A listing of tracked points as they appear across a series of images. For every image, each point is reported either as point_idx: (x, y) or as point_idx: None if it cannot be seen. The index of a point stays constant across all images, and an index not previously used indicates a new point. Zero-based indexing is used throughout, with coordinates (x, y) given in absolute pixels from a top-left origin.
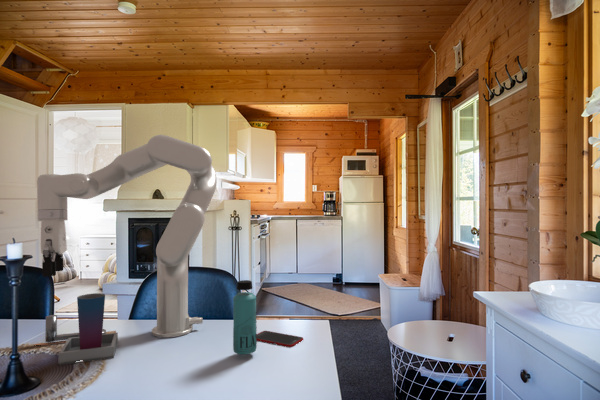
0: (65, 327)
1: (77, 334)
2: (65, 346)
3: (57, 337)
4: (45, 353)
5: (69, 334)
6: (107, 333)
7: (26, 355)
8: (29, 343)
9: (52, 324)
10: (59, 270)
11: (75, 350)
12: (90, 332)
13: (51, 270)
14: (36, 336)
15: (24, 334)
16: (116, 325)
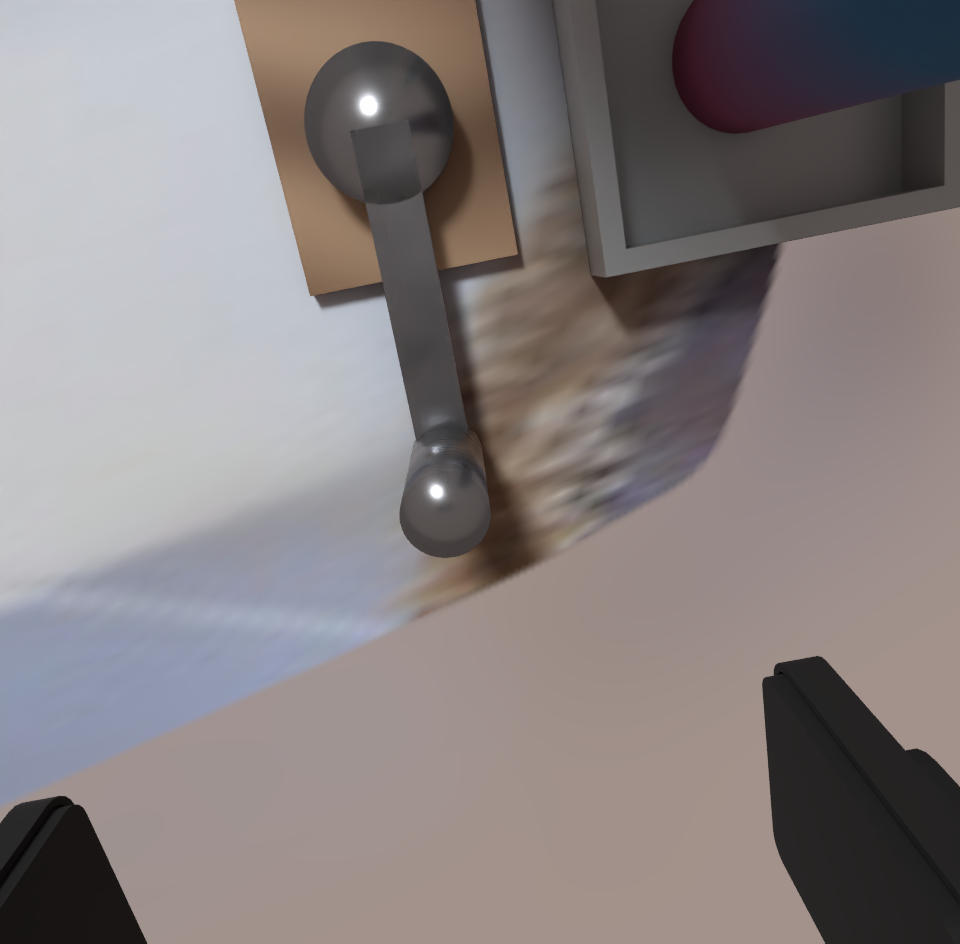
0: (53, 507)
1: (434, 272)
2: (820, 217)
3: (462, 410)
4: (648, 396)
5: (423, 339)
6: (309, 56)
7: (654, 498)
8: (414, 588)
9: (479, 470)
10: (94, 845)
11: (949, 94)
12: None
13: (948, 784)
14: (265, 613)
15: (209, 707)
16: (3, 68)
